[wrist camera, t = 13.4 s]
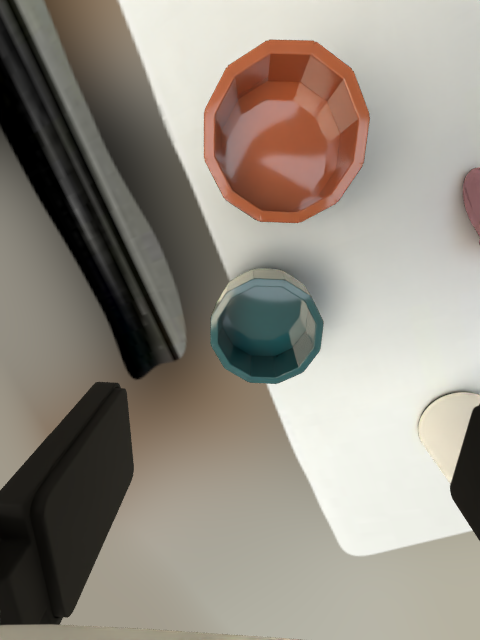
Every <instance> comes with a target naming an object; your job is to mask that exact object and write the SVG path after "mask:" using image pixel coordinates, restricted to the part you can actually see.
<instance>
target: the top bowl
mask: <svg viewBox="0 0 480 640" xmlns="http://www.w3.org/2000/svg"><path fill="white" fill-rule="evenodd" d="M323 324H324V323H323V320H322V317H321V315H320V313H319V311H318V309H317V307H316V305H315V303H314V301H313V299H312V297H311V295H310V294H309V292H308V290H307V289H306V287H305V286H304V284H303V283H301V282H300V281H298V280H297V279H295V278H294V277H293V276H291V275H289V274H288V273H286V272H284V271H282V270H276V269H270V268H260V269H252V270H250V271H247V272H245V273H243V274H241V275H239V276H238V277H236V278H235V279H233V280H231V281H230V282H229V283H228V285H227V286H226V288H225V289H224V291H223V292H222V294H221V296H220V298H219V299H218V301H217V302H216V305H215V308H214V310H213V313H212V315H211V342H210V343H211V346H212V348H213V350H214V351H215V353H216V355H217V357H218V358H219V360H220V362H221V363H222V365H223V367H224V368H225V369H227V370H228V371H230V372H232V373H233V374H235V375H237V376H239V377H240V378H242V379H244V380H245V381H247V382H250V383H269V384H277V383H280V382H283V381H285V380H287V379H289V378H292V377H294V376H296V375H298V374H301V373H302V372H304V371H305V369H306V368H307V367H308V365H309V364H310V363H311V362H312V360H313V359H314V358H315V356H316V355H317V354H318V353H319V351H320V349H321V341H322V332H323Z"/></svg>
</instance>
